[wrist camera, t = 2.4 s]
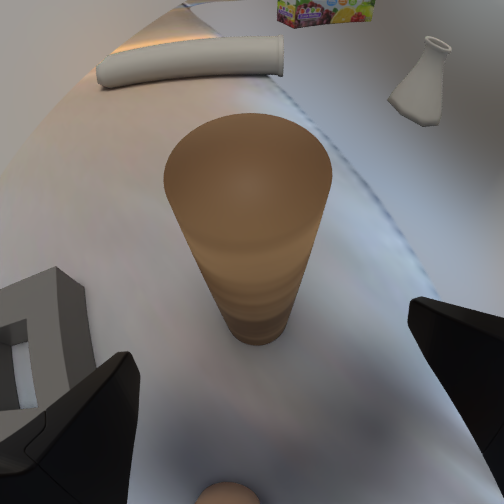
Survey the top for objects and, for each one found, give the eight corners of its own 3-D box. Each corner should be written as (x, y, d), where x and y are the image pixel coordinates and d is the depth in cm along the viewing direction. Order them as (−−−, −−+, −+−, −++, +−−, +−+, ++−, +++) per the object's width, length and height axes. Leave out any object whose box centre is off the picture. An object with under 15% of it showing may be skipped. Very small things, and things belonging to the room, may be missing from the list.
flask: (448, 119, 29) (476, 58, 20) (424, 135, 27) (455, 63, 18) (406, 87, 32) (425, 26, 23) (376, 99, 30) (395, 28, 21)
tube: (84, 78, 29) (283, 55, 27) (96, 50, 30) (283, 28, 28) (101, 98, 34) (282, 84, 33) (111, 71, 35) (282, 55, 33)
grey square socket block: (116, 444, 15) (86, 451, 12) (8, 448, 14) (-23, 449, 10) (84, 287, 21) (56, 266, 17) (-9, 320, 19) (-38, 306, 16)
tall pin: (296, 333, 19) (362, 207, 6) (237, 353, 18) (181, 264, 6) (274, 278, 21) (290, 102, 8) (218, 297, 20) (154, 136, 7)
